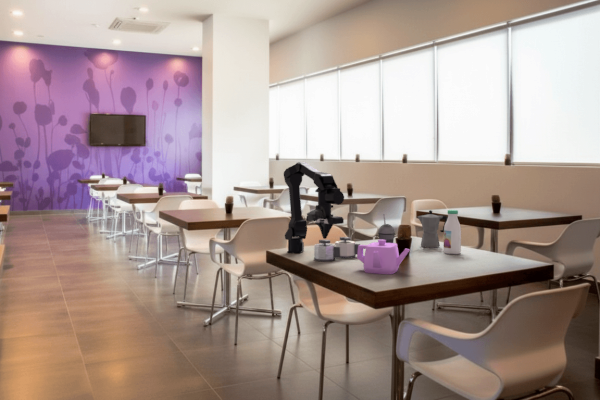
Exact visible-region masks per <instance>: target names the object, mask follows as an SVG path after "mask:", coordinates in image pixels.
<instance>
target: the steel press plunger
mask: <svg viewBox="0 0 600 400" xmlns="http://www.w3.org/2000/svg"><path fill="white" fill-rule="evenodd" d="M321 243H323V245H326V243H329V244H331V239H319V240H318V244H321Z"/></svg>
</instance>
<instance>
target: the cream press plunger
mask: <svg viewBox="0 0 600 400" xmlns="http://www.w3.org/2000/svg"><path fill="white" fill-rule="evenodd" d="M351 239H352V238H351V237H349V236H342V237H341V236H339V241H344V242H345V243H346V241H352V240H351Z"/></svg>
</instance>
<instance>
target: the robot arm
mask: <svg viewBox="0 0 600 400" xmlns="http://www.w3.org/2000/svg"><path fill="white" fill-rule="evenodd" d="M304 176H306V177H308V178H309V179H311V180H312V181H313V184H314V185H315V186H316V187H317V188H316V189H315V193H317V204H316V205H315V209H313V210H311V211H309V212H307V213H306V220H305V219H304V218H303V215H302V214H303V213H302V202H301V201H302V200H301V190H300V186H301V184H302V181H303V177H304ZM283 179H284V183H285V184H286V186H287V187H288V191H289V192H288V193H289V194H288V195H289V205H290V206H289V207H290V218H291V219H290V220H289V222H288V227H287V228H288V229H287V230H286V232H285V233H284V240H287V241H288V242H287V247H288V248H287V249H288V251H286V253H291V254H301V253H303V252H305V251H304V250H305V246H304V245H305V244H304V243H305V242H304V240H305V239H306V237H307V232H308V226H307V222H314V224H316V225H317V226H318V227H319V230H320V232H321V236H322V240H327V238H328V236H329V233H330V231H331V230H332V227H333V225H340V224H344V223H345V222H344V221H345V220H344V218H343V217H342V216H337V215H336V216H334V214H332V208H334V205H341V204H343V202H344V200H345V195H344V192H342V191H341V188H340V187H339V188H338V185H337V182H336V180H335V179H334V176H333V175H332V174H331V173H327V172H325V171H324V172H323V171H320V170H318V169H316V168H315V167H313V166H312V165H311V164H309V163H308V162H306V161H298V162H296V163H295V164H294V165H291V166H289V167H287V168H286V169H285V171H283Z"/></svg>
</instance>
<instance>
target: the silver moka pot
mask: <svg viewBox="0 0 600 400" xmlns="http://www.w3.org/2000/svg"><path fill="white" fill-rule="evenodd" d="M313 246H314V248H313V249H314V253H313V256H314V257H313V260H314V261H316V262H334V261H335V260H336V259H341V258H340V247H335V244H334V243H326V245H323V243H316V244H314V245H313Z"/></svg>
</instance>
